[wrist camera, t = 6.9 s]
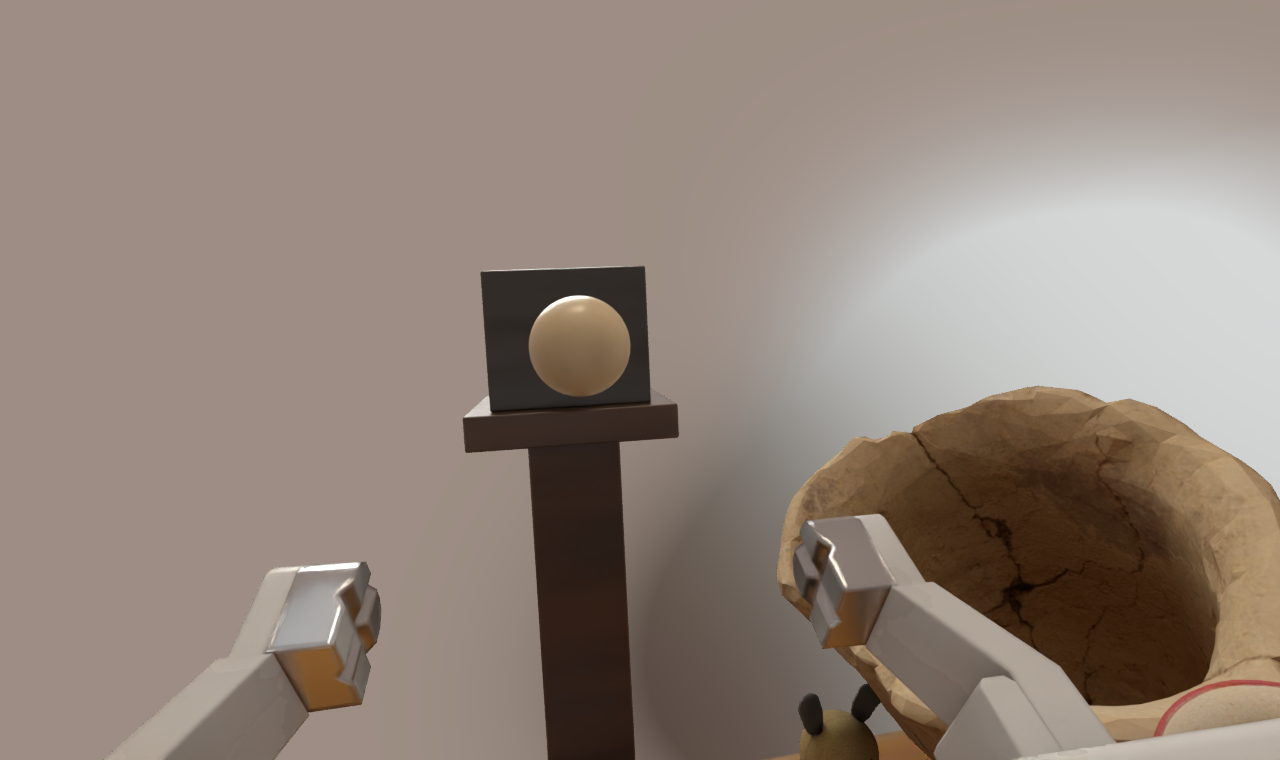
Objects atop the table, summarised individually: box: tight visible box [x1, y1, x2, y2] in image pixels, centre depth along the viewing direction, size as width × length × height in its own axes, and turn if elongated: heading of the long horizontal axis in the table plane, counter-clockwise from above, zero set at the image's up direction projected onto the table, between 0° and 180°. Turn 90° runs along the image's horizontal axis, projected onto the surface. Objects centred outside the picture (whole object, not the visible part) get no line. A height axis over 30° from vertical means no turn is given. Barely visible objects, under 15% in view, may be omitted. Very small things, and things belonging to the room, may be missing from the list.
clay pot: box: [777, 386, 1280, 760], centre depth 41 cm, size 27×28×25 cm
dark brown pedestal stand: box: [463, 388, 679, 760], centre depth 29 cm, size 10×10×32 cm
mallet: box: [481, 266, 651, 412], centre depth 21 cm, size 21×7×6 cm, turn 8°
